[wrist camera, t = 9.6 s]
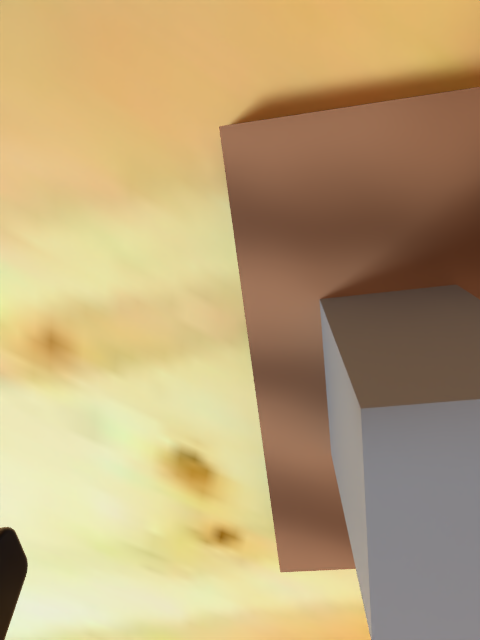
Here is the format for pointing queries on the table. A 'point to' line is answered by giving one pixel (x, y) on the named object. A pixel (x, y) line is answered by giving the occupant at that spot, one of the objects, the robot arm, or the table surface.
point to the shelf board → (340, 267)
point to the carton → (409, 454)
